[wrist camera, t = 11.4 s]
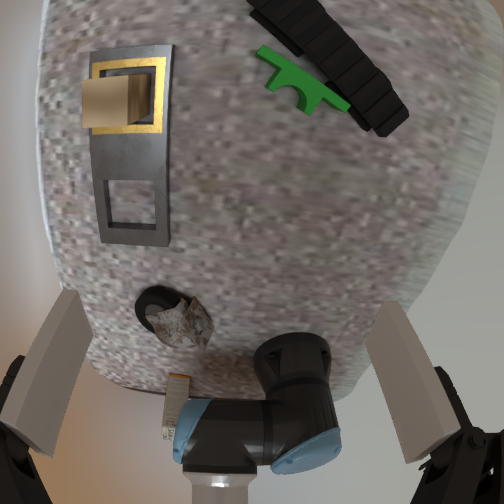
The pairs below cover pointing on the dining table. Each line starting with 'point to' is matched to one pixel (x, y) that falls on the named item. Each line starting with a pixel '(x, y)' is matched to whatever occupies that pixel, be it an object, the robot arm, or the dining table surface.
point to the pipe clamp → (299, 83)
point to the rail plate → (134, 147)
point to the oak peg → (115, 100)
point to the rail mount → (334, 60)
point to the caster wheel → (174, 319)
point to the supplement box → (174, 403)
